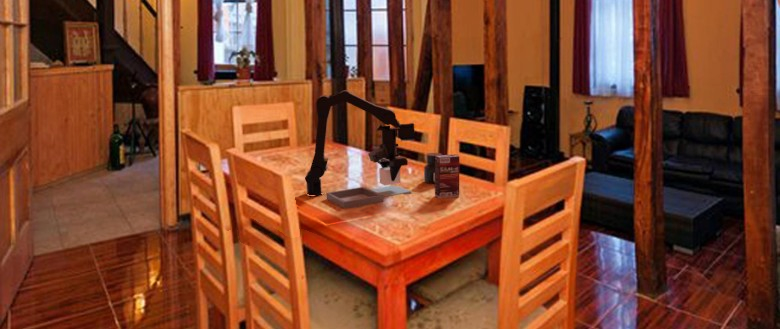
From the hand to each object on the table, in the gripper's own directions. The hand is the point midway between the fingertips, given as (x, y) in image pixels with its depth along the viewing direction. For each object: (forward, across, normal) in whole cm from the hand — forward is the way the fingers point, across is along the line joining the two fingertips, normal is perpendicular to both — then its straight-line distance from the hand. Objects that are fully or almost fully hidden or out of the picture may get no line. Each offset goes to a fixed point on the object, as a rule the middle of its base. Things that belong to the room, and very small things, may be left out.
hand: (389, 179), depth 220 cm
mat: (+5, 0, 0) cm, 5 cm away
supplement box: (+5, +18, +15) cm, 24 cm away
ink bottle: (+5, -4, +24) cm, 25 cm away
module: (+1, 0, 0) cm, 1 cm away
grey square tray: (+5, +4, -18) cm, 19 cm away
